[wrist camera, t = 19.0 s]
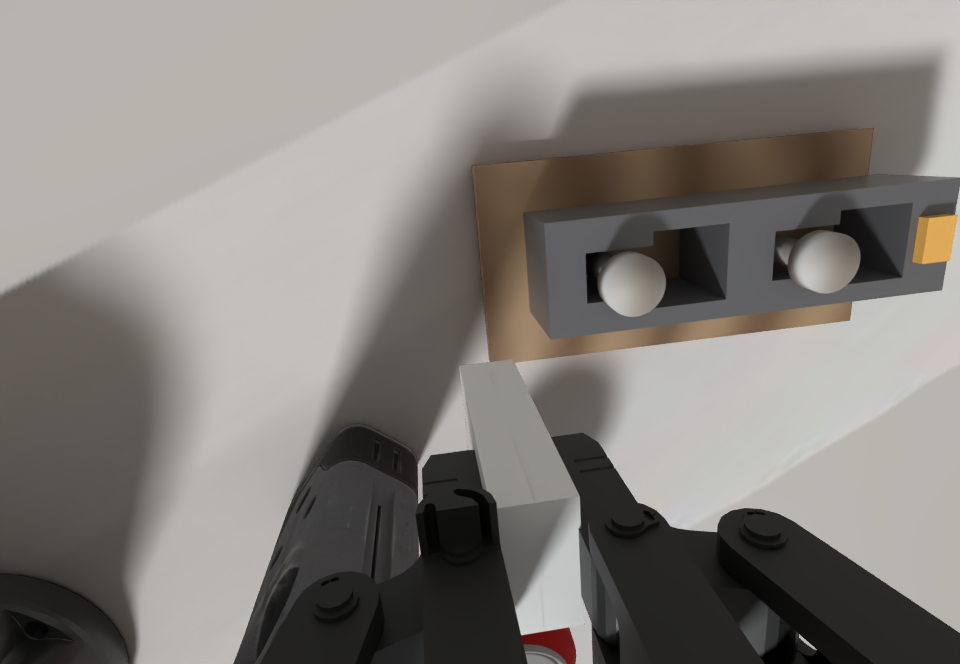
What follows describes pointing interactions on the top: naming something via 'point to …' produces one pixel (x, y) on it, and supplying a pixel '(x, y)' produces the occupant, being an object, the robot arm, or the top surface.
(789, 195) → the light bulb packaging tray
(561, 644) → the beverage can
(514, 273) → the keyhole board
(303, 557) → the electronic device
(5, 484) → the top surface
